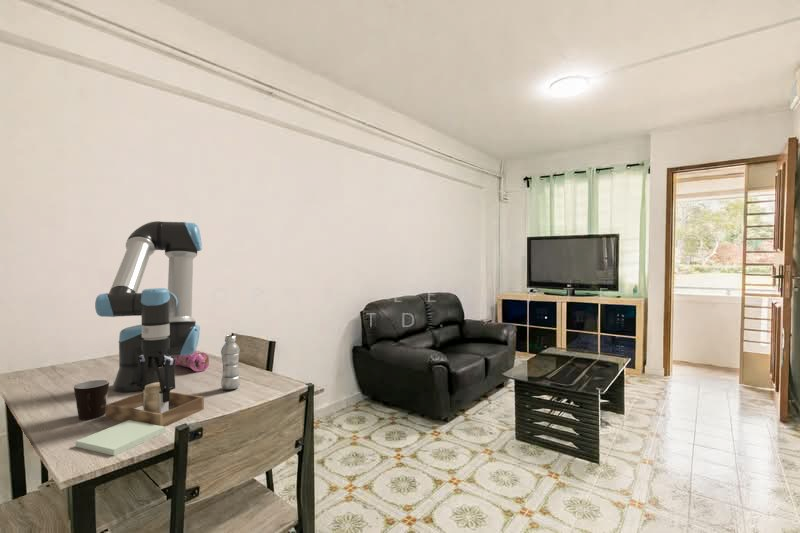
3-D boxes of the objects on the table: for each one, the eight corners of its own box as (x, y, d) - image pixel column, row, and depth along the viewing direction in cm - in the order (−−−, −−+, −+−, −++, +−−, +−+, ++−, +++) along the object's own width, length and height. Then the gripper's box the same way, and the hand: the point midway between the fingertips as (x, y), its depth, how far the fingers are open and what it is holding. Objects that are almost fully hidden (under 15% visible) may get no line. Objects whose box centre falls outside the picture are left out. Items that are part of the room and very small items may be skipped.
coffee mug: (87, 411, 124) (87, 380, 123) (115, 410, 124) (115, 379, 124) (58, 426, 112) (58, 392, 112) (90, 425, 113) (89, 391, 112)
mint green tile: (75, 446, 100) (75, 440, 100) (129, 425, 113) (129, 419, 113) (114, 455, 95) (114, 449, 95) (164, 432, 109) (164, 426, 109)
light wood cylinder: (140, 415, 120) (139, 387, 120) (157, 408, 126) (157, 381, 126) (154, 418, 118) (154, 389, 118) (171, 411, 124) (171, 383, 124)
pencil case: (168, 366, 176) (168, 347, 176) (189, 362, 184) (189, 343, 183) (190, 375, 163) (190, 354, 163) (212, 370, 171) (212, 350, 171)
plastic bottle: (244, 387, 147) (243, 335, 147) (229, 392, 141) (229, 338, 141) (231, 385, 150) (231, 333, 150) (216, 390, 144) (216, 336, 143)
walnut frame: (105, 418, 118) (105, 405, 118) (152, 400, 133) (152, 389, 133) (160, 428, 111) (160, 414, 111) (203, 409, 126) (203, 396, 126)
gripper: (122, 337, 121) (122, 411, 121) (167, 342, 115) (168, 419, 115) (145, 333, 128) (145, 402, 128) (188, 337, 122) (189, 410, 122)
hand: (156, 410), depth 122 cm, fingers closed on light wood cylinder, 6 cm apart
